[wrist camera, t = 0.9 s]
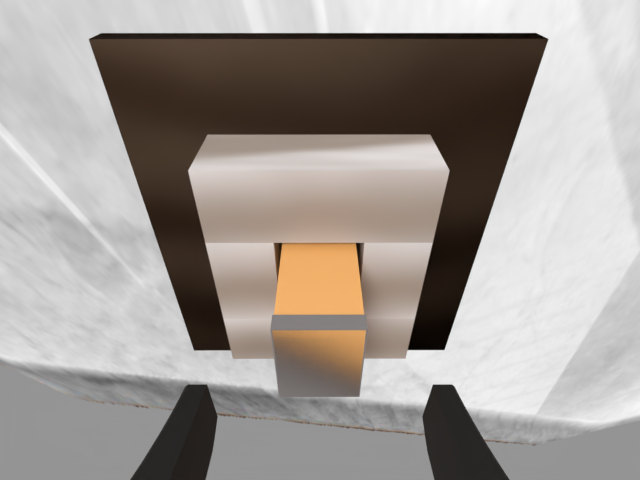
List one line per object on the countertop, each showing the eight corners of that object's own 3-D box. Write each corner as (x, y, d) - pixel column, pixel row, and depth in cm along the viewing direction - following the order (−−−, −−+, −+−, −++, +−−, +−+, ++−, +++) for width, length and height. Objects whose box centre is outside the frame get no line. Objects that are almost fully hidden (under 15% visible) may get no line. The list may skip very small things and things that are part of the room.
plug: (285, 206, 18) (270, 329, 12) (352, 206, 18) (367, 329, 12) (289, 271, 20) (278, 397, 15) (348, 271, 20) (359, 397, 15)
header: (101, 33, 14) (40, 62, 11) (536, 32, 14) (596, 61, 11) (197, 337, 26) (181, 394, 22) (440, 337, 26) (457, 394, 22)
